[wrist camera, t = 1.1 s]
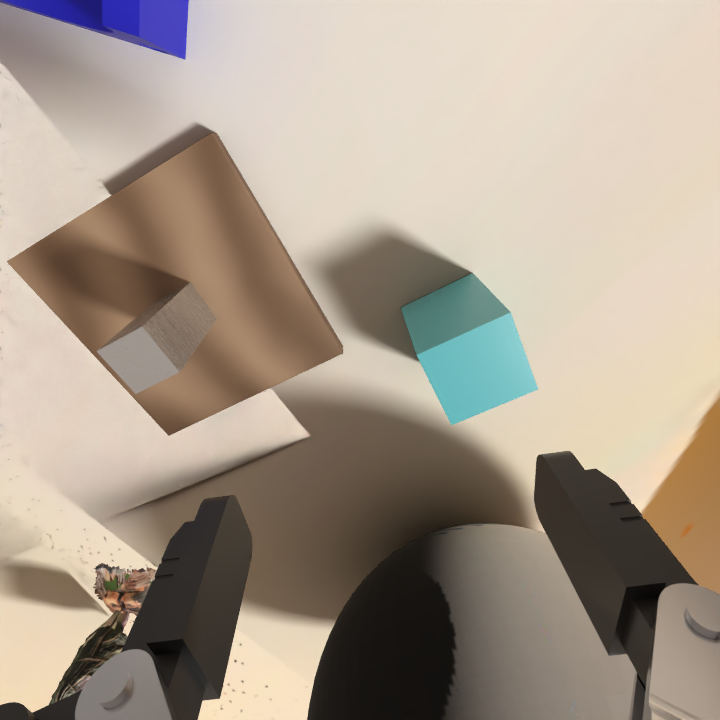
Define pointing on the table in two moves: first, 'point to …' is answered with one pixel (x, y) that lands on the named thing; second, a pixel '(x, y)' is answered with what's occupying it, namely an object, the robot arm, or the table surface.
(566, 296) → the table surface
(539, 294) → the table surface
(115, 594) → the plant with pod
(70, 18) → the cable clip
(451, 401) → the aqua box
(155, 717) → the robot arm
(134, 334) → the steel post
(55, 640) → the table surface
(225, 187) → the walnut board
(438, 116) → the table surface
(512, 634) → the black ball
